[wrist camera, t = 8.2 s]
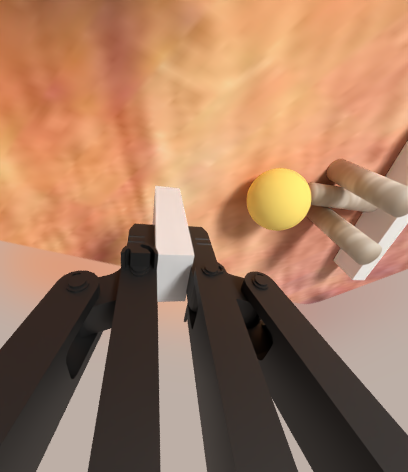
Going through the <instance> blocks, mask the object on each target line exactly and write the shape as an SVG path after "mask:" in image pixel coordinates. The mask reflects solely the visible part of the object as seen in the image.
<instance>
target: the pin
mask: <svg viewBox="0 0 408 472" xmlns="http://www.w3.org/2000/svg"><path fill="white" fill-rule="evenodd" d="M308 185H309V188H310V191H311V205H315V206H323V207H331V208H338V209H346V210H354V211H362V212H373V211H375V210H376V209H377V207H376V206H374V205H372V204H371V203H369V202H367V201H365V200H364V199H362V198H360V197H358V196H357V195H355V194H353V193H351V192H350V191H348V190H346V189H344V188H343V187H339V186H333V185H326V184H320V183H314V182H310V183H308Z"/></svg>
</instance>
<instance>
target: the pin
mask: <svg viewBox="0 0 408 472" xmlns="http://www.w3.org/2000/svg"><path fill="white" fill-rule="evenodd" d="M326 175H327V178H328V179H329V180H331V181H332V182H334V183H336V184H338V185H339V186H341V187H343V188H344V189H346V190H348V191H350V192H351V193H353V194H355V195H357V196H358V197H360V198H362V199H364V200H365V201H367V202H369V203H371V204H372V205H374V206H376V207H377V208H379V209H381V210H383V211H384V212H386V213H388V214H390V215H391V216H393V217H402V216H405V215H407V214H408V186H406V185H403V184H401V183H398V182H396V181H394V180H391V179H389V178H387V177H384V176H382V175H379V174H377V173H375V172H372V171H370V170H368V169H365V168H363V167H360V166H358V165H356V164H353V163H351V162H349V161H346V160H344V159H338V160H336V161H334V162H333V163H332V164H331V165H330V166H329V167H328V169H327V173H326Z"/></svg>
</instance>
